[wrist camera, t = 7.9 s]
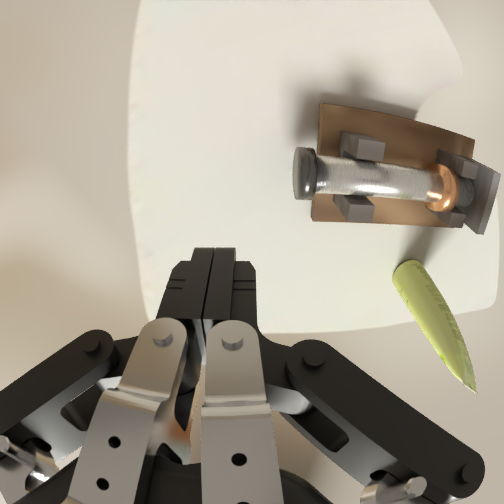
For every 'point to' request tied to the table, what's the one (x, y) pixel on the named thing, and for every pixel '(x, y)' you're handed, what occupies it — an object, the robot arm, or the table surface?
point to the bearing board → (403, 153)
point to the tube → (434, 319)
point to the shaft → (379, 180)
